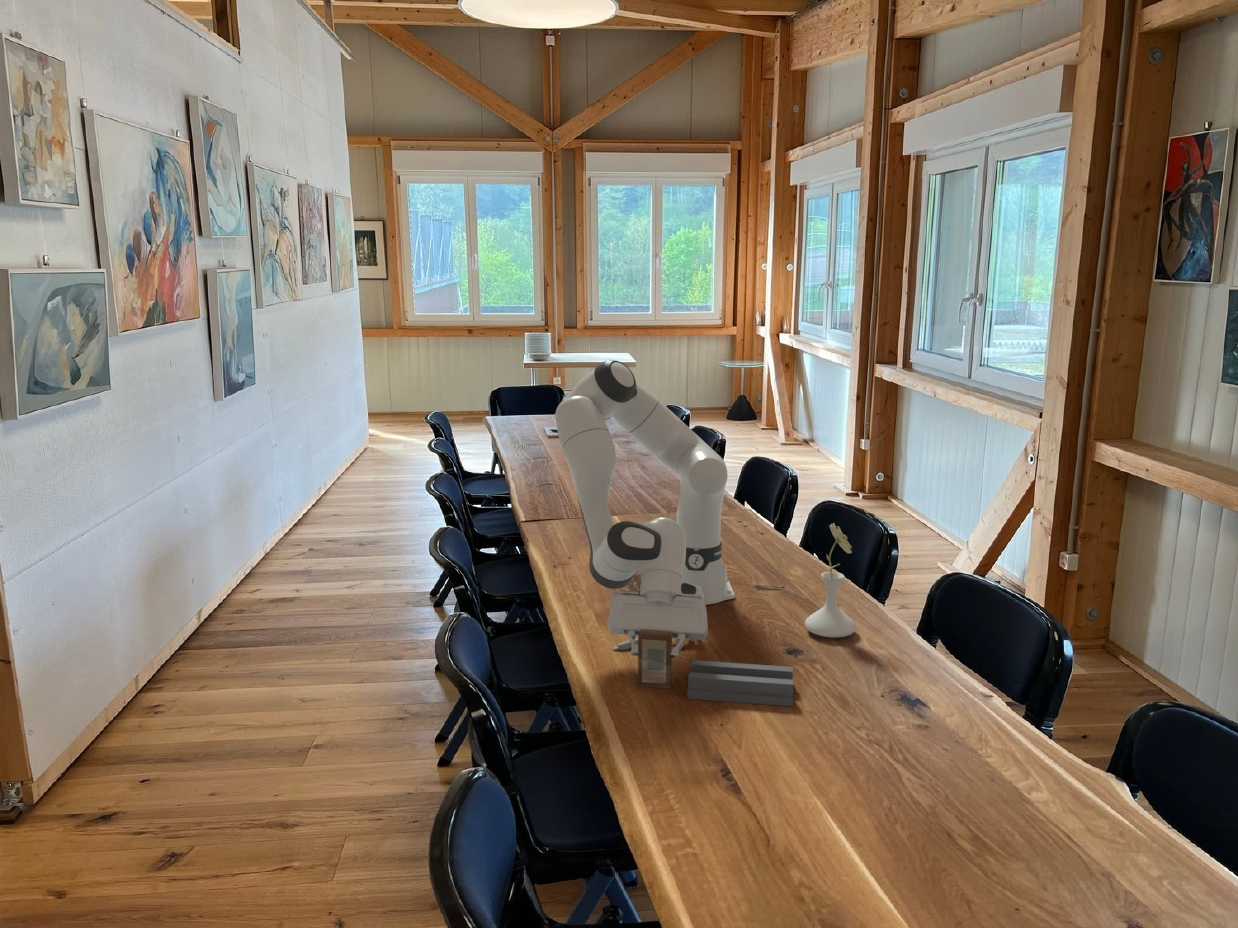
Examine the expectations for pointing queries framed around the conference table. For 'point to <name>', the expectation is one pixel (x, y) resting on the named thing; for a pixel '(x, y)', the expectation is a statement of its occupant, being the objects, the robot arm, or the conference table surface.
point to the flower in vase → (832, 600)
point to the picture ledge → (741, 683)
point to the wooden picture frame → (654, 658)
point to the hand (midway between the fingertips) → (654, 655)
